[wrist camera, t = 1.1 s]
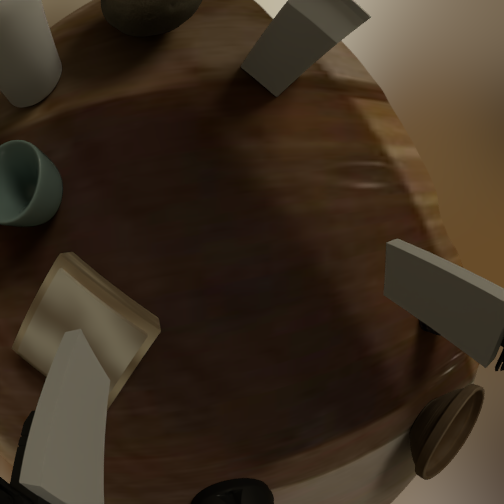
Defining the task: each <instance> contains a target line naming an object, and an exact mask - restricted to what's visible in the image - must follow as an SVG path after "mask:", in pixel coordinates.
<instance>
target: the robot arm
mask: <svg viewBox="0 0 504 504" xmlns="http://www.w3.org/2000/svg"><path fill="white" fill-rule="evenodd" d="M384 295H385V296H386V297H387V298H389V299H390V300H392V301H393V302H395V303H396V304H398V305H399V306H401V307H402V308H404V309H405V310H406V311H408V312H409V313H411V314H412V315H414V316H415V317H416V318H418V319H419V320H421V321H422V322H424V323H425V324H426V325H428V326H429V327H431V328H432V329H433V330H435V331H436V332H438V333H439V334H440V335H442V336H443V337H445V338H446V339H447V340H449V341H450V342H451V343H453V344H454V345H456V346H457V347H458V348H460V349H461V350H462V351H464V352H465V353H466V354H468V355H469V356H470V357H472V358H473V359H474V360H476V361H477V362H478V363H480V364H481V365H482V366H484V367H485V368H486V367H487V366H488V365H489V364H490V363H491V362H492V361H493V360H494V358H495V357H496V354H497V352H498V350H499V347H500V345H501V346H502V347H504V289H503V288H502V287H500V286H498V285H496V284H494V283H492V282H490V281H488V280H486V279H484V278H482V277H480V276H478V275H476V274H474V273H472V272H470V271H468V270H466V269H464V268H462V267H460V266H458V265H456V264H454V263H451V262H449V261H447V260H445V259H443V258H441V257H438V256H436V255H434V254H432V253H430V252H427V251H425V250H423V249H421V248H418V247H416V246H414V245H411V244H409V243H407V242H404V241H402V240H400V239H395V240H392V241H389V242H386V266H385V284H384ZM502 362H503V364H502V366H501V371H502V370H504V348H503V351H502V353H501V355H500V357H499V359H498V362H497V364H496V366H495V371H498V369H499V367H500V365H501V363H502ZM109 387H110V379H109V378H108V376H107V374H106V373H105V371H104V369H103V368H102V366H101V365H100V363H99V361H98V359H97V358H96V356H95V354H94V352H93V351H92V349H91V347H90V345H89V343H88V342H87V340H86V338H85V336H84V334H83V332H82V330H81V329H77V330H73V331H68V332H65V334H64V336H63V338H62V340H61V343H60V345H59V348H58V350H57V352H56V355H55V357H54V360H53V362H52V365H51V367H50V370H49V373H48V375H47V378H46V381H45V384H44V386H43V389H42V392H41V395H40V398H39V401H38V404H37V408H36V411H32V412H31V413H30V415H29V416H28V418H27V419H26V421H25V422H24V425H23V429H22V432H21V436H22V437H20V440H19V444H18V445H19V447H18V448H17V452H16V456H15V461H14V466H13V471H12V476H11V482H10V484H9V483H7V482H6V481H5V480H4V479H2V478H1V477H0V504H104V442H105V426H106V414H107V404H108V395H109ZM192 504H274V497H273V494H272V492H271V490H270V489H269V488H268V486H267V485H266V484H265V483H264V482H262V481H259V480H256V479H248V478H242V479H233V480H227V481H223V482H220V483H217V484H214V485H212V486H210V487H208V488H206V489H204V490H202V491H201V492H200V493H198V494H197V495H196V496H195V498H194V499H193V501H192Z"/></svg>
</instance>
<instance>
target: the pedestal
mask: <svg viewBox="0 0 504 504" xmlns="http://www.w3.org/2000/svg"><path fill="white" fill-rule="evenodd" d="M77 329H81V330H82V332H83V334H84V336H85V338H86V340H87V342H88V343H89V345H90V347H91V349H92V351H93V352H94V354H95V356H96V358H97V359H98V361H99V363H100V365H101V366H102V368H103V369H104V371H105V373H106V374H107V376H108V378H109V379H110V387H109V395H108V404H107V410H108V408H109V407H110V405H111V404H112V402H113V401H114V399H115V398H116V396H117V395H118V393H119V392H120V390H121V389H122V387H123V386H124V384H125V383H126V381H127V380H128V378H129V377H130V375H131V374H132V372H133V371H134V369H135V368H136V366H137V365H138V363H139V362H140V361H141V359H142V358H143V356H144V355H145V353H146V352H147V350H148V349H149V347H150V346H151V345H152V343H153V342H154V340H155V339H156V337H157V336H158V334H159V333H160V332H161V329H160V323H159V318H158V317H156V316H155V315H153V314H152V313H150V312H149V311H148V310H146V309H145V308H143V307H142V306H141V305H139V304H138V303H136V302H135V301H134V300H132V299H131V298H130V297H128V296H127V295H126V294H124V293H123V292H122V291H120V290H119V289H118V288H116V287H115V286H114V285H112V284H111V283H110V282H108V281H107V280H106V279H105V278H103V277H102V276H101V275H100V274H98V273H97V272H96V271H95V270H93V269H92V268H91V267H90V266H89V265H87V264H86V263H85V262H84V261H83V260H81V259H80V258H79V257H78V256H77V255H76V254H74V253H73V252H68V253H61V254H59V256H58V258H57V259H56V261H55V263H54V264H53V266H52V268H51V269H50V271H49V273H48V275H47V276H46V278H45V280H44V282H43V284H42V285H41V287H40V289H39V291H38V293H37V295H36V297H35V299H34V301H33V303H32V304H31V307H30V309H29V311H28V313H27V315H26V317H25V319H24V321H23V323H22V325H21V328H20V330H19V332H18V335H17V337H16V339H15V342H14V344H13V347H12V349H13V350H14V351H15V352H16V353H17V354H19V355H20V356H21V357H22V358H23V359H24V360H26V361H27V362H28V363H29V364H30V365H32V366H33V367H34V368H35V369H37V370H38V371H39V372H41V373H42V374H43V375H44V376H46V377H47V375H48V373H49V370H50V367H51V365H52V362H53V360H54V357H55V355H56V352H57V350H58V348H59V345H60V343H61V340H62V338H63V336H64V334H65V332H68V331H73V330H77Z"/></svg>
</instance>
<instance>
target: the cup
mask: <svg viewBox="0 0 504 504" xmlns="http://www.w3.org/2000/svg"><path fill="white" fill-rule="evenodd" d="M62 196H63V182H62V178H61V175H60V173H59V171H58V169H57V167H56V166H55V165H54V164H53V162H52V161H51V160H50V159H49V158H48V157H47V156H46V155H45V154H44V153H43V152H42V151H41V150H39V149H38V148H37V147H36V146H34V145H33V144H31V143H29V142H27V141H23V140H13V141H9V142H6V143H4V144H2V145H1V146H0V224H1V225H5V226H13V227H34V226H39V225H42V224H44V223H46V222H48V221H49V220H51V219H52V218H53V216H54V215H55V214H56V213H57V211H58V209H59V207H60V204H61V201H62Z"/></svg>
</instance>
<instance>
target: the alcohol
mask: <svg viewBox="0 0 504 504" xmlns="http://www.w3.org/2000/svg"><path fill="white" fill-rule="evenodd" d="M61 73H62V64H61V61H60V58H59V56H58V53H57V50H56V47H55V44H54V41H53V38H52V35H51V32H50V29H49V25H48V22H47V19H46V16H45V12H44V8H43V4H42V1H41V0H0V91H1V92H2V93H3V94H4V96H5V97H6V98H7V99H8V100H9V102H10V103H11V104H12V105H14V106H16V107H28V106H32V105H35V104H37V103H39V102H40V101H42V100H43V99H45V98H46V97H47V96H48V95H49V94H50V93H51V92H52V90H53V89H54V88H55V86H56V84H57V82H58V80H59V78H60V76H61Z"/></svg>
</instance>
